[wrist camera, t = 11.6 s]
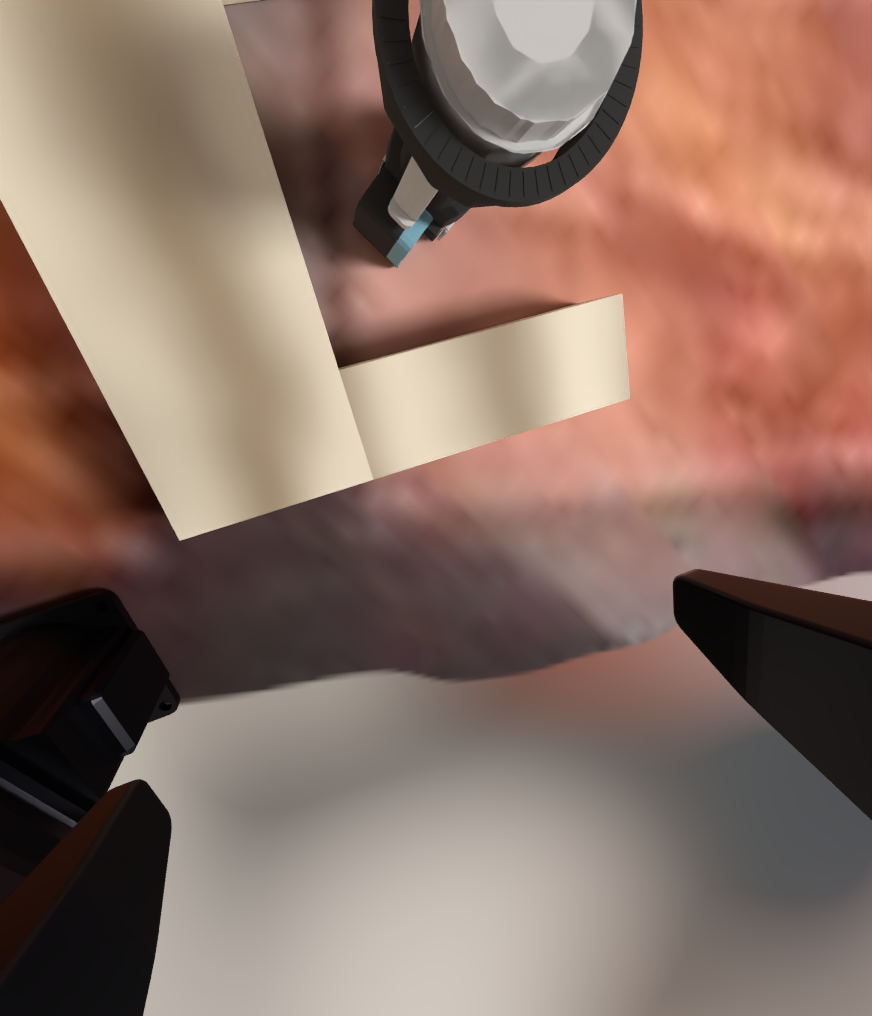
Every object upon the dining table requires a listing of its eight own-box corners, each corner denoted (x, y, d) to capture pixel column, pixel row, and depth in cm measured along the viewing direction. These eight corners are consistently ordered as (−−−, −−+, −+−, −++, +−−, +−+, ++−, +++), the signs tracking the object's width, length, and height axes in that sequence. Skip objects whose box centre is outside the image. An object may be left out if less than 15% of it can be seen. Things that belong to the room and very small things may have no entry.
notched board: (200, 513, 18) (179, 540, 15) (-108, -114, 11) (-247, -271, 8) (588, 393, 20) (630, 398, 18) (526, -164, 14) (578, -294, 11)
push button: (428, 39, 15) (609, -485, 6) (530, 170, 17) (782, -57, 8) (313, 202, 15) (309, -34, 6) (425, 309, 18) (545, 251, 8)
